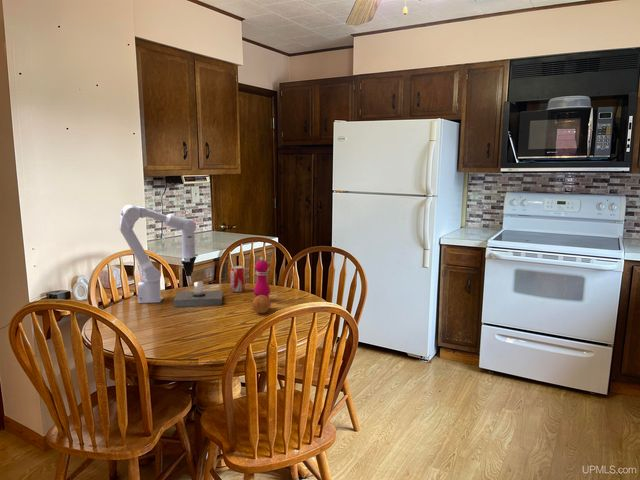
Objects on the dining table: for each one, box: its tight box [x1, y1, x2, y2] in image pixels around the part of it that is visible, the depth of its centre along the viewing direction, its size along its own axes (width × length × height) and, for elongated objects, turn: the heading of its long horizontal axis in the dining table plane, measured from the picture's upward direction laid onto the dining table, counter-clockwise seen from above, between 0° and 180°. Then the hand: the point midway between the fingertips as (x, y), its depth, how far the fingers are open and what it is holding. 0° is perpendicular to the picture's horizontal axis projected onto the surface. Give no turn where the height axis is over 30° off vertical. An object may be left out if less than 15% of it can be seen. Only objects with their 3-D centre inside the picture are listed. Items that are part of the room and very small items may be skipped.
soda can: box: [229, 265, 246, 293], centre depth 232 cm, size 7×7×12 cm
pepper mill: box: [253, 256, 271, 299], centre depth 214 cm, size 7×7×20 cm
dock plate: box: [173, 290, 224, 308], centre depth 213 cm, size 20×14×3 cm
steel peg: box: [193, 280, 204, 297], centre depth 212 cm, size 4×4×9 cm
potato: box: [252, 295, 272, 314], centre depth 199 cm, size 7×13×7 cm, turn 174°
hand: (189, 274), depth 221 cm, fingers open, 7 cm apart
